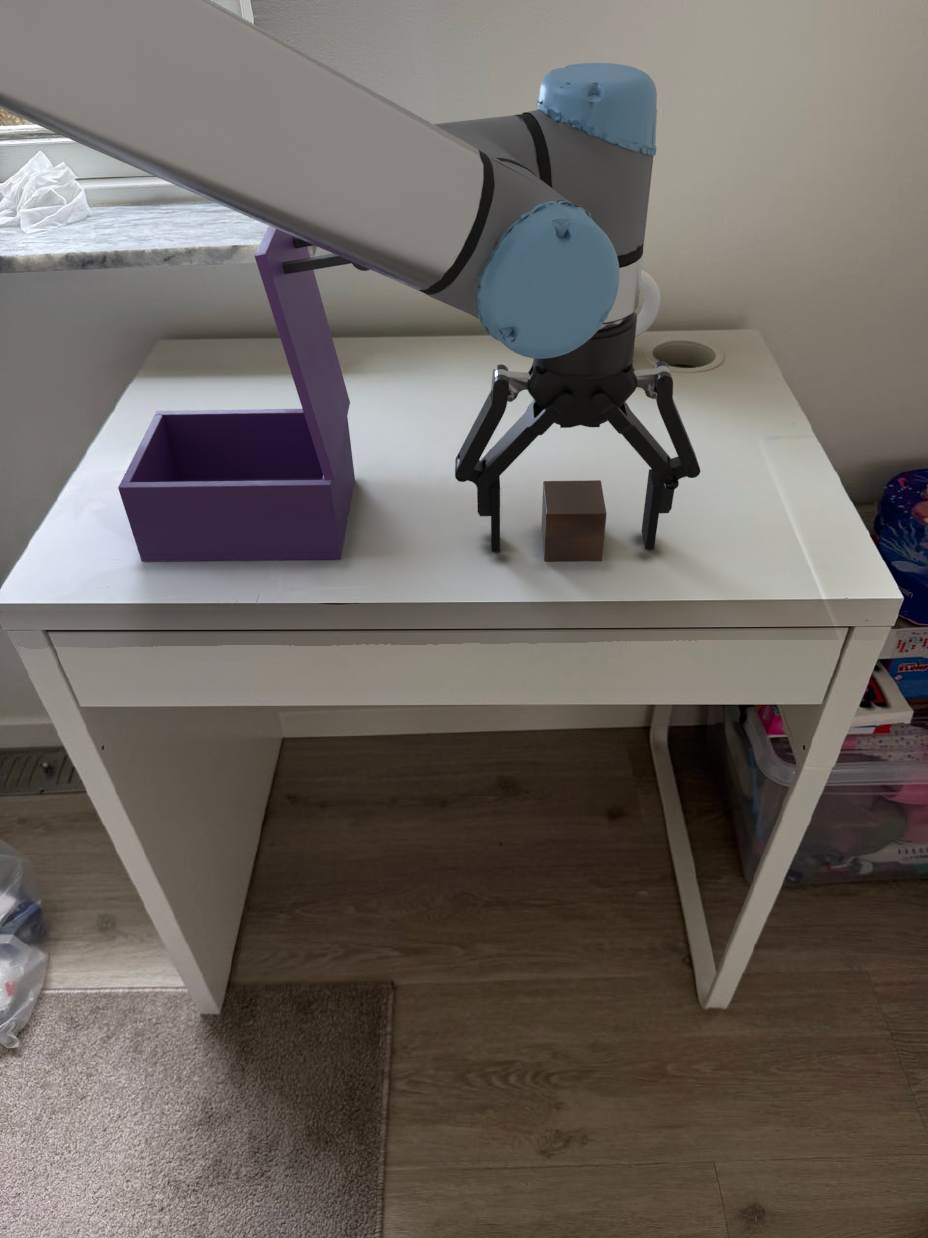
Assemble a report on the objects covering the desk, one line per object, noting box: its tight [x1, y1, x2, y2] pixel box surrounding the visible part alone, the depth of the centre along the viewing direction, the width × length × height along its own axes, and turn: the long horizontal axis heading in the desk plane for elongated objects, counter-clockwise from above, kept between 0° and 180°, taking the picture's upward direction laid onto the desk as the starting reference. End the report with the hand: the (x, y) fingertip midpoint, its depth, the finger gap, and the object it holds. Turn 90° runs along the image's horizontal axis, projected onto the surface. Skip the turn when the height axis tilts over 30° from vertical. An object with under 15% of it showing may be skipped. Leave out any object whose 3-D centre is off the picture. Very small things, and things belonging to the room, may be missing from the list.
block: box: [541, 479, 607, 562], centre depth 82 cm, size 5×5×5 cm
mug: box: [635, 269, 661, 339], centre depth 106 cm, size 8×12×12 cm
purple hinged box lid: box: [254, 225, 371, 481], centre depth 75 cm, size 19×13×8 cm
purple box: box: [117, 408, 356, 562], centre depth 85 cm, size 18×13×8 cm
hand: (571, 541), depth 83 cm, fingers open, 13 cm apart
